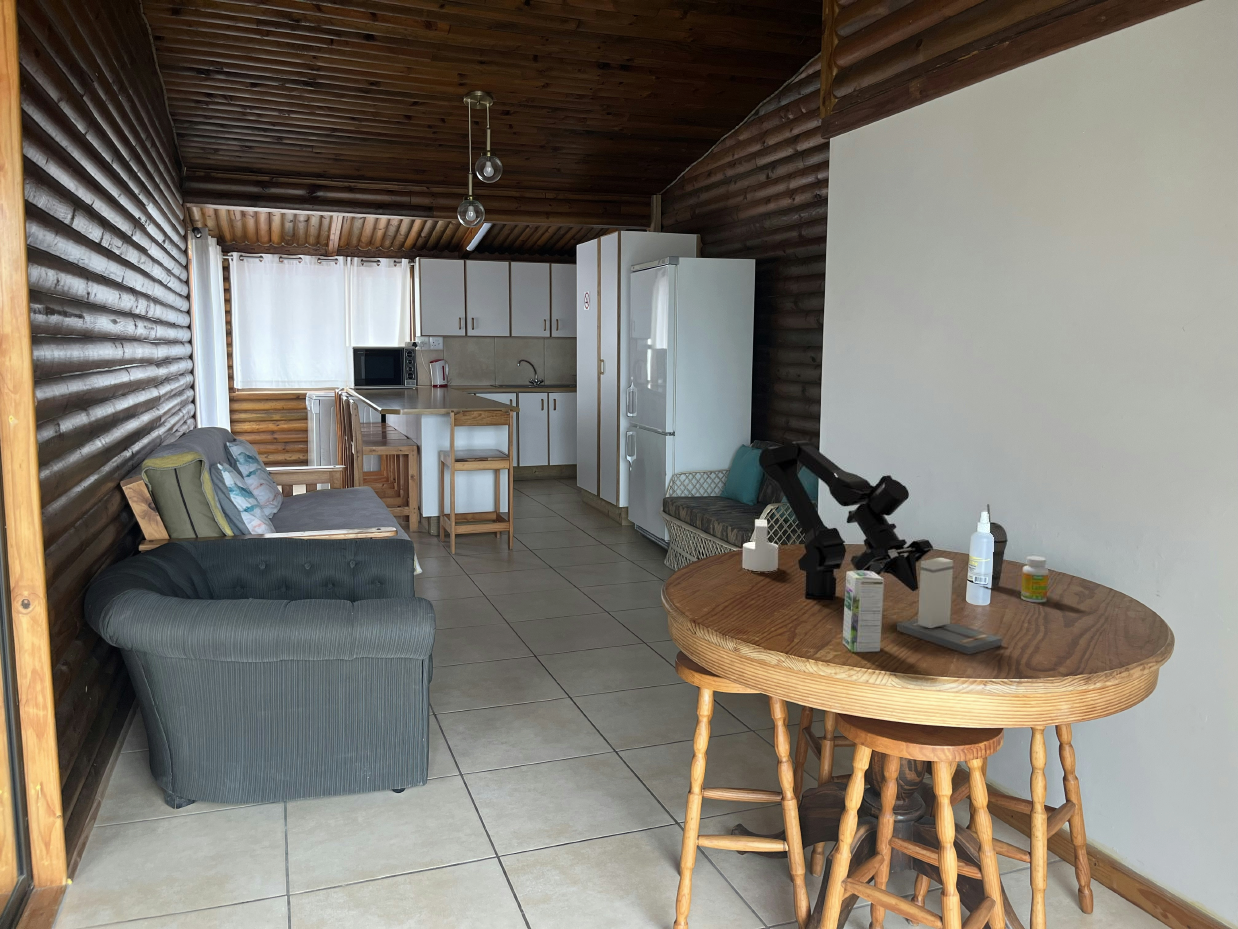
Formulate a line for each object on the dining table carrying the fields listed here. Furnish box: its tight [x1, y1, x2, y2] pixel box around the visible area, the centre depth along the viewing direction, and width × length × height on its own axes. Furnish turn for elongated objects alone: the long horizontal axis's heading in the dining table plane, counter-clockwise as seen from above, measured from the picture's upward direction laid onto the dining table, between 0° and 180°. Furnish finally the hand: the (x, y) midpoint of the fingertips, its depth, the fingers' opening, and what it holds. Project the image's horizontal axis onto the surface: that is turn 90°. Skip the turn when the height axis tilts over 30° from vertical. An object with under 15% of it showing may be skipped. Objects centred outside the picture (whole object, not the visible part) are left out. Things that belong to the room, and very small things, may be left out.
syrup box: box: [842, 570, 885, 653], centre depth 173 cm, size 6×6×14 cm
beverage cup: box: [986, 503, 1009, 589], centre depth 217 cm, size 7×7×20 cm
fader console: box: [896, 618, 1003, 655], centre depth 180 cm, size 17×10×2 cm, turn 33°
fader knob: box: [917, 557, 954, 628], centre depth 182 cm, size 3×6×13 cm, turn 123°
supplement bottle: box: [1020, 555, 1049, 603], centre depth 207 cm, size 5×5×10 cm
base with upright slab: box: [742, 518, 779, 572], centre depth 234 cm, size 9×9×12 cm
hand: (915, 590), depth 186 cm, fingers closed
